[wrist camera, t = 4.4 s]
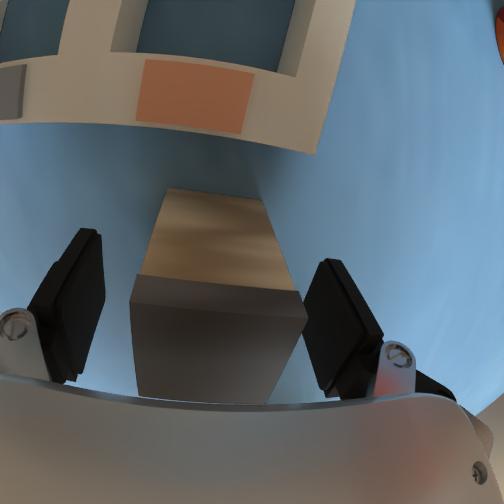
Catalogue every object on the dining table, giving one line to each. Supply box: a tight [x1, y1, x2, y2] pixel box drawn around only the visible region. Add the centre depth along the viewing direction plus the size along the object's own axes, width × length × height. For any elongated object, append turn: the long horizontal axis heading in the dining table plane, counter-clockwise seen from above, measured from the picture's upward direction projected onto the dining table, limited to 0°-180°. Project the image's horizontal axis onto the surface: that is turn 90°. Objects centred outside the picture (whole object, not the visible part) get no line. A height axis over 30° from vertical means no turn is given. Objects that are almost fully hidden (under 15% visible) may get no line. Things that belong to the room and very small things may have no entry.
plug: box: [129, 188, 308, 404], centre depth 10 cm, size 4×4×7 cm
